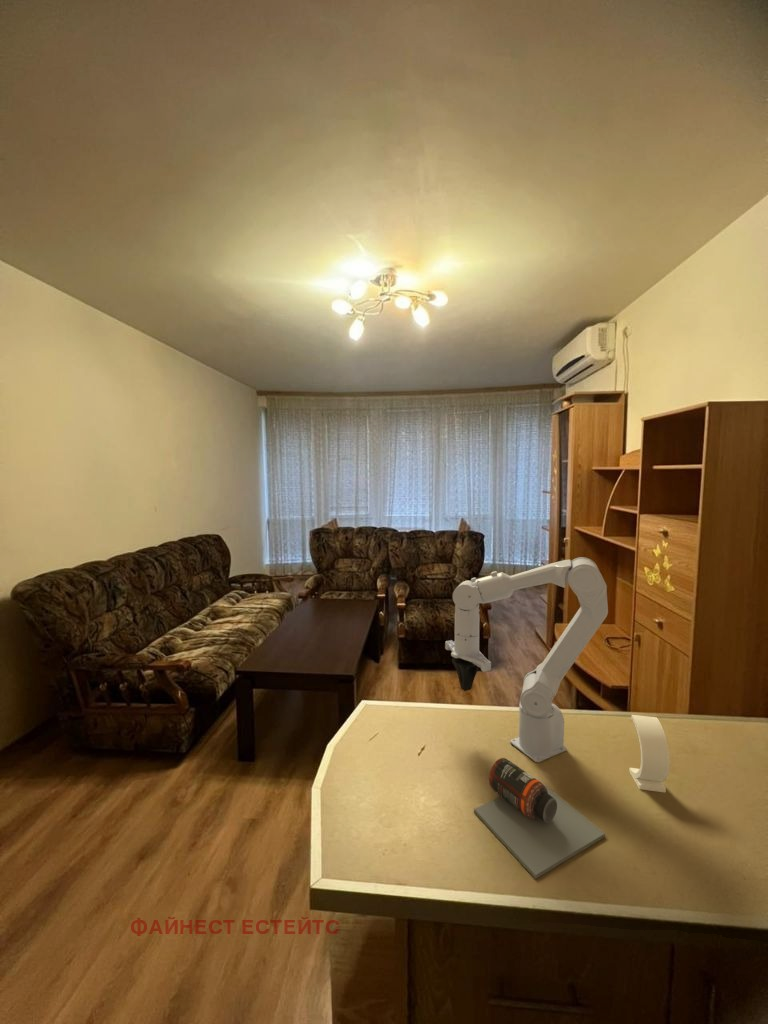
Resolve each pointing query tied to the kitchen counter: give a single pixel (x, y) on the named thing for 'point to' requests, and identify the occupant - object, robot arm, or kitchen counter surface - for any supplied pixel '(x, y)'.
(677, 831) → the kitchen counter surface
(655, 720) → the headphone stand
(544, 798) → the supplement bottle
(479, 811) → the mat
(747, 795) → the kitchen counter surface
